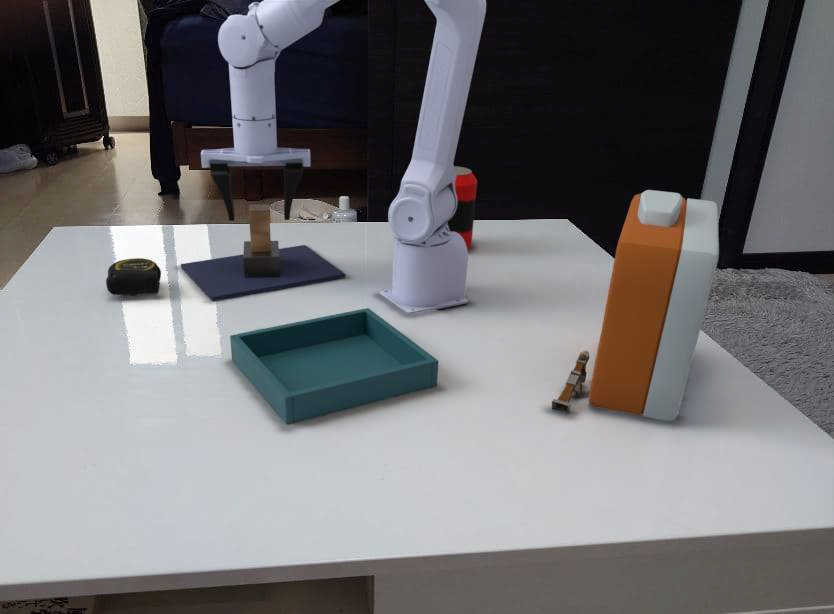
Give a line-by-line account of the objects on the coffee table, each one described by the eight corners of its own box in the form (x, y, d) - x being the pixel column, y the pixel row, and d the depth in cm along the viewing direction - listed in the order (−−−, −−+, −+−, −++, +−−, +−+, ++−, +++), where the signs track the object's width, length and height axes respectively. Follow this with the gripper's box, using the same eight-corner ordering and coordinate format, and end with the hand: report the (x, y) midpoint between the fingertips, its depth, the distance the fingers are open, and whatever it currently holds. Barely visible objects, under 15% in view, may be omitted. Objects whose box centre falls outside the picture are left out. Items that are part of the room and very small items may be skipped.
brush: (278, 259, 116) (276, 200, 111) (280, 276, 110) (277, 214, 105) (245, 260, 115) (241, 200, 110) (244, 277, 109) (240, 215, 104)
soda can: (417, 240, 126) (422, 165, 120) (461, 237, 128) (467, 163, 122) (432, 255, 120) (437, 177, 114) (478, 252, 122) (485, 175, 116)
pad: (304, 248, 122) (304, 244, 122) (345, 277, 111) (345, 273, 111) (181, 267, 114) (180, 263, 113) (211, 301, 103) (211, 297, 103)
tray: (367, 333, 95) (368, 307, 93) (436, 389, 83) (438, 360, 82) (231, 363, 88) (229, 335, 86) (286, 428, 76) (285, 397, 74)
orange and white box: (605, 340, 95) (638, 170, 84) (681, 352, 92) (724, 178, 82) (585, 411, 80) (622, 215, 70) (675, 428, 77) (727, 227, 67)
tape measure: (107, 302, 102) (103, 275, 100) (115, 282, 108) (110, 257, 106) (160, 300, 103) (156, 273, 101) (164, 281, 109) (161, 255, 107)
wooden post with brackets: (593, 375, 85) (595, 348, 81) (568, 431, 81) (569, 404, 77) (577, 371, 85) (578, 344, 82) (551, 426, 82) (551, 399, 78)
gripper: (196, 122, 97) (205, 228, 104) (311, 122, 99) (312, 226, 106) (199, 112, 103) (208, 212, 110) (308, 112, 105) (309, 211, 112)
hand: (259, 218), depth 109 cm, fingers open, 7 cm apart
